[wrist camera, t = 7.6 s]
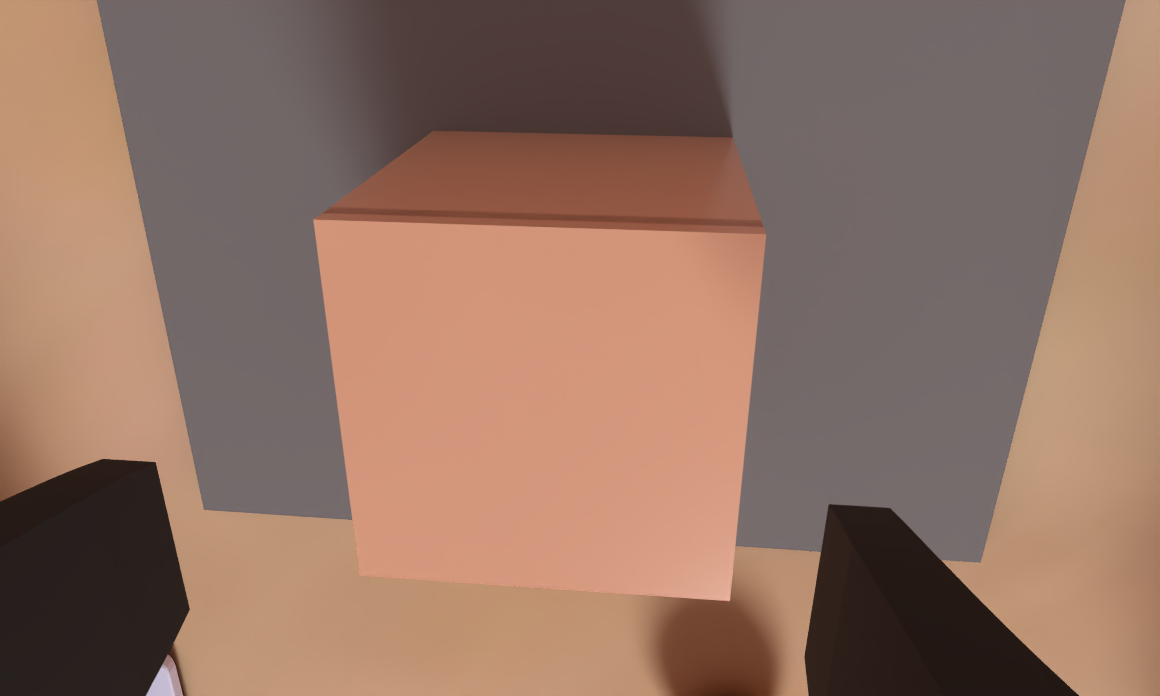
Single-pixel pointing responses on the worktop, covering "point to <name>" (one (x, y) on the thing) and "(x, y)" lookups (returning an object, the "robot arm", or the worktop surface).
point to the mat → (650, 108)
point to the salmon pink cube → (546, 359)
